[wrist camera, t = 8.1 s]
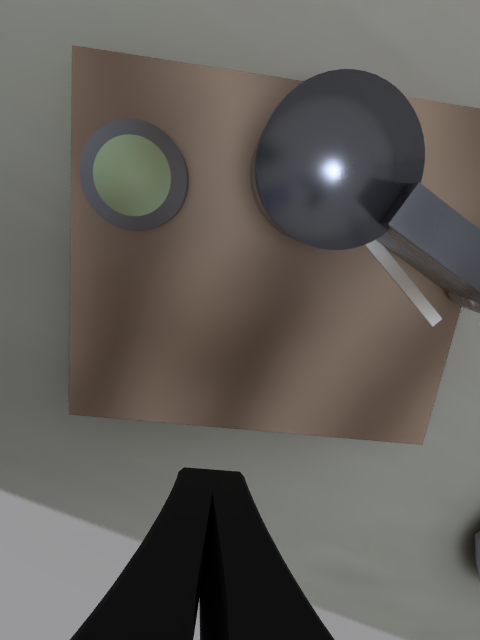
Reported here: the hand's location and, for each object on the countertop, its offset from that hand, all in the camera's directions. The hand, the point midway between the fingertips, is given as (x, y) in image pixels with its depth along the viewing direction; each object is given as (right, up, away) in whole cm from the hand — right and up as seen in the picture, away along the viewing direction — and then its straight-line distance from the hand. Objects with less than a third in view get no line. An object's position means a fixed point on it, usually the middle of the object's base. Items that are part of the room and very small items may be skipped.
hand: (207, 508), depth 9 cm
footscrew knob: (+6, +8, +6) cm, 12 cm away
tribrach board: (+2, +6, +8) cm, 10 cm away
